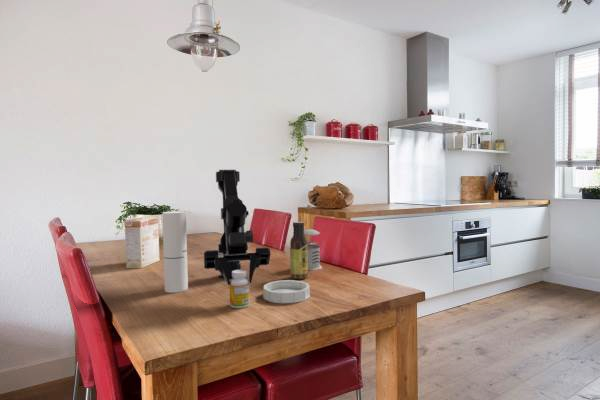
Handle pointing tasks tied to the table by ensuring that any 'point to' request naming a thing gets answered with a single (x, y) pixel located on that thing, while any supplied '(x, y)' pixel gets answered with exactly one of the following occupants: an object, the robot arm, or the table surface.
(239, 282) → the supplement bottle
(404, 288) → the table surface
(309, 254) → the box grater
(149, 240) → the coffeecake box
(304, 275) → the sauce bottle
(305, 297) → the dish
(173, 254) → the cylindrical container
